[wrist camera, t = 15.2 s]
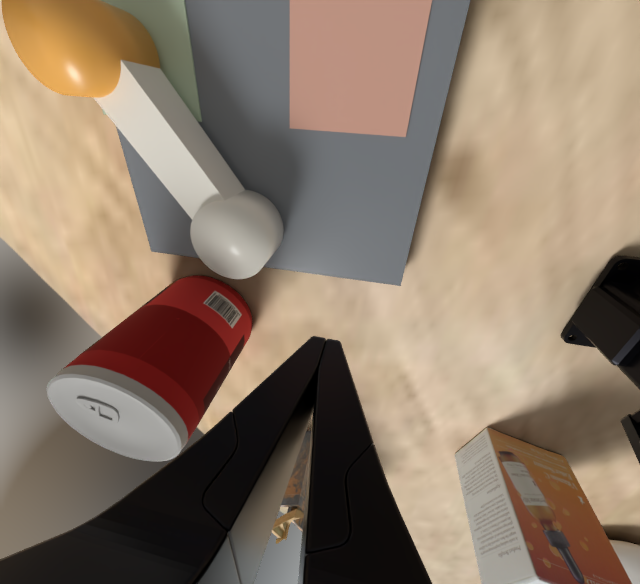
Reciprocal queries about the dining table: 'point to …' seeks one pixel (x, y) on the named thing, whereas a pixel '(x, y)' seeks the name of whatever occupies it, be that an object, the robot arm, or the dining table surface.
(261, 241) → the lever
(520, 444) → the small box
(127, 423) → the canned food
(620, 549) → the flower in vase
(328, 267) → the panel
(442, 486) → the dining table surface
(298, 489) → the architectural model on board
